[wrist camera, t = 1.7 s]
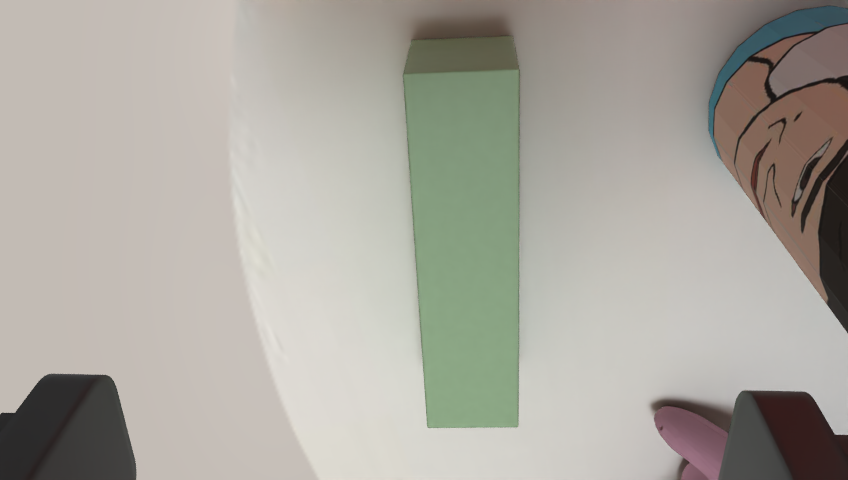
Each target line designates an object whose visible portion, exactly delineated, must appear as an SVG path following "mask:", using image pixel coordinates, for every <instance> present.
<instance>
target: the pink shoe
mask: <svg viewBox="0 0 848 480" xmlns="http://www.w3.org/2000/svg"><path fill="white" fill-rule="evenodd" d="M654 421H655V425H656V427H657V429H658V431H659V433H660V435H661V436H662V437H663V439H664V440H665V441H666V442H667V443H668V445H669V446H670V447H671V448H672V449H673V450H675V451H676V452H677V453H679V454H680V455H681V456H682V457H684V458H685V459H686V460H688V461H689V462H690V463H689V464H688V465H687V466H686V467H685V469H684V471H683V473H682V478H681V480H718V477H719V473H720V468H721V464H722V459H723V455H724V451H725V446H726V442H727V437H728V433H727V432H726V431H724V430H723V429H721V428H720V427H718V426H716V425H715V424H713V423H712V422H710V421H709V420H707V419H705V418H703V417H701V416H699V415H697V414H695V413H692V412H689V411H687V410H684V409H682V408H676V407H671V406H664V407H662V408H661V409H659V410H658V411H657V412H656V414H655V417H654Z"/></svg>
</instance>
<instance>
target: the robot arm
mask: <svg viewBox="0 0 848 480" xmlns="http://www.w3.org/2000/svg"><path fill="white" fill-rule="evenodd" d="M0 480H136V463H135V458H134V454H133V450H132V446H131V442H130V439H129V435H128V431H127V427H126V423H125V419H124V415H123V411H122V408H121V403H120V399H119V396H118V392H117V388H116V386H115V383H114V381H113V380H112V378H111V377H109V376H107V375H84V374H48V375H46V376H44V377H43V378H42V379H41V380H40V381H39V382H38V383H37V385H36V386H35V387H34V388H33V390H32V391H31V392H30V394H29V395H28V396H27V398H26V399H25V400H24V402H23V403H22V404H21V406H20V407H19V408H18V410H17V411H16V413H1V414H0ZM718 480H848V435H835V434H834V433H833V431H832V429H831V427H830V426H829V424H828V422H827V421H826V419H825V417H824V416H823V414H822V412H821V410H820V409H819V407H818V405H817V404H816V402H815V400H814V399H813V398H812V396H811V395H810V394H808V393H806V392H792V391H742V392H741V393H740V394H739V395H738V397H737V399H736V403H735V406H734V411H733V415H732V420H731V424H730V428H729V433H728V437H727V442H726V446H725V451H724V455H723V459H722V464H721V468H720V473H719V477H718Z"/></svg>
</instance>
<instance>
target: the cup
mask: <svg viewBox="0 0 848 480" xmlns="http://www.w3.org/2000/svg"><path fill="white" fill-rule="evenodd" d="M709 133H710V135H711V138H712V141H713V144H714V147H715V149H716V152H717V155H718V156H719V158H720V159H721V160H722V162H723V163H724V164H725V166H726V167H727V169H728V170H729V171H730V173H731V174H732V175H733V177H734V178H735V180H736V181H737V182H738V184H739V185H740V186H741V188H742V189H743V190H744V192H745V193H746V195H747V196H748V197H749V199H750V200H751V201H752V203H753V204H754V205H755V207H756V208H757V210H758V211H759V212H760V214H761V215H762V216H763V218H764V219H765V220H766V222H767V223H768V225H769V226H770V227H771V229H772V230H773V231H774V233H775V234H776V236H777V237H778V238H779V240H780V241H781V242H782V244H783V245H784V246H785V248H786V249H787V251H788V252H789V253H790V255H791V256H792V257H793V259H794V260H795V261H796V263H797V264H798V266H799V267H800V268H801V270H802V271H803V272H804V274H805V275H806V276H807V278H808V279H809V281H810V282H811V283H812V285H813V286H814V287H815V289H816V290H817V292H818V293H819V294H820V296H821V297H822V298H823V300H824V301H825V302H826V304H827V305H828V307H829V308H830V309H831V311H832V312H833V313H834V315H835V316H836V317H837V319H838V320H839V322H840V323H841V324H842V326H843V327H844V328H845V330H846V331H847V333H848V9H847V8H841V7H835V6H824V7H817V8H810V9H803V10H797V11H795V12H792V13H790V14H788V15H786V16H783V17H781V18H779V19H777V20H775V21H772V22H770V23H768V24H766V25H764V26H763V27H762V28H761V29H759V30H758V31H757V32H756V33H754V34H753V35H752V36H751V37H750V38H748V39H747V40H746V41H745V42H743V43H742V44H741V45H740V46H738V48H737V49H736V51H735V52H734V53H733V55H732V56H731V58H730V59H729V60H728V62H727V63H726V65H725V66H724V67H723V69H722V70H721V72H720V73H719V75H718V78H717V81H716V84H715V87H714V90H713V92H712V95H711V98H710V101H709Z"/></svg>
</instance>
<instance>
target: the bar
mask: <svg viewBox="0 0 848 480" xmlns="http://www.w3.org/2000/svg"><path fill="white" fill-rule="evenodd" d="M403 82H404V96H405V111H406V125H407V140H408V154H409V169H410V183H411V198H412V212H413V227H414V241H415V256H416V270H417V285H418V299H419V314H420V328H421V343H422V357H423V372H424V386H425V401H426V415H427V427H428V428H476V427H518V401H519V108H520V70H519V65H518V60H517V55H516V50H515V45H514V40H513V36H494V37H471V38H447V39H424V40H412V41H411V45H410V49H409V53H408V57H407V61H406V65H405V69H404V73H403Z"/></svg>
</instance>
